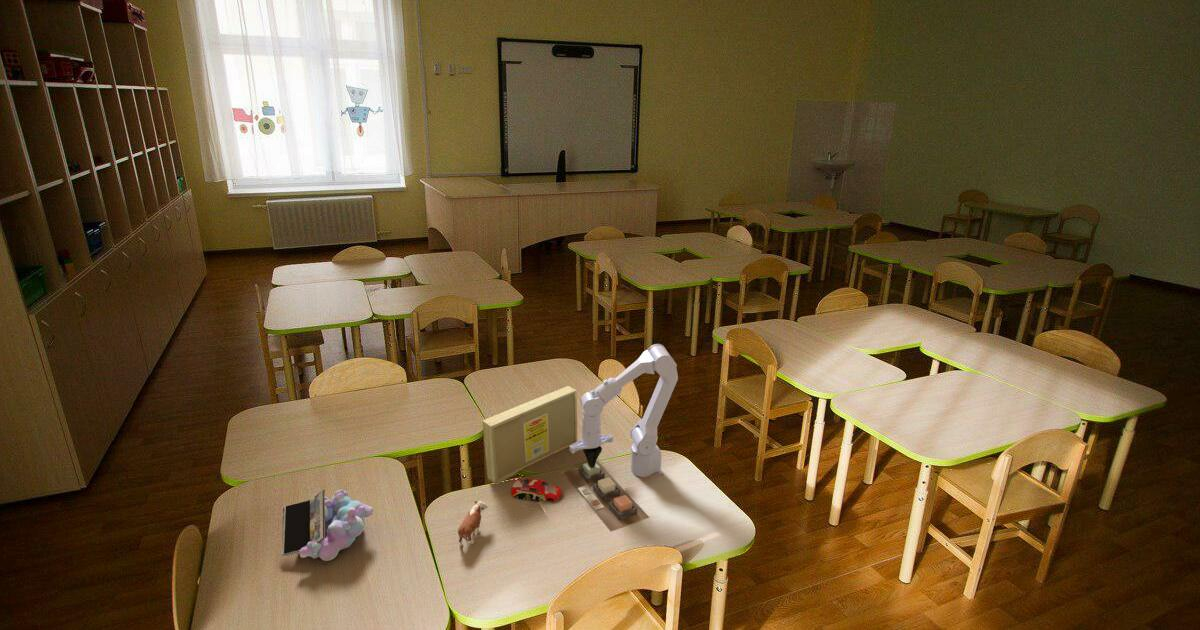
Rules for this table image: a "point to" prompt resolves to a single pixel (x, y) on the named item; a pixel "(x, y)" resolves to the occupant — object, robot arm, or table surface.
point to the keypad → (604, 498)
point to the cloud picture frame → (322, 525)
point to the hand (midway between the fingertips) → (591, 465)
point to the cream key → (606, 485)
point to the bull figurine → (471, 522)
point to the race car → (536, 490)
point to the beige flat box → (529, 433)
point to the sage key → (591, 469)
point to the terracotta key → (622, 503)
